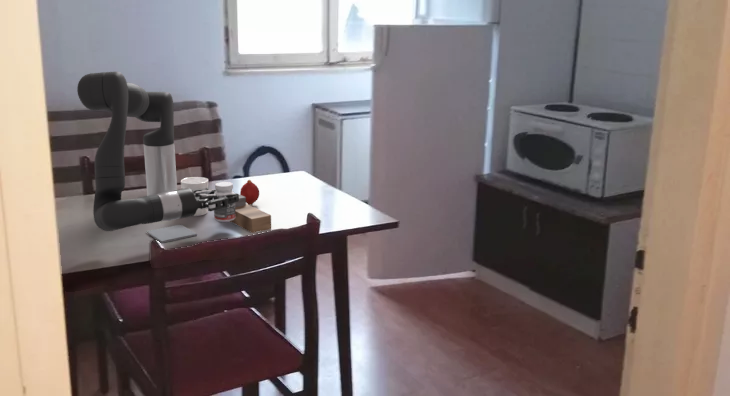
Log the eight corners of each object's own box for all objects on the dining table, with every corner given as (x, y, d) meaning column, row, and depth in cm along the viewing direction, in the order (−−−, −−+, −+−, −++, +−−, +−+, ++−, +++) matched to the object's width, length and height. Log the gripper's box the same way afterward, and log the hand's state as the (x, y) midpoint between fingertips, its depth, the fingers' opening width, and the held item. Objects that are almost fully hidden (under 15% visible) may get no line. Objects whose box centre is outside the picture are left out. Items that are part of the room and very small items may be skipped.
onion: (241, 202, 231) (240, 177, 228) (260, 202, 231) (259, 177, 229) (240, 207, 225) (239, 182, 223) (259, 207, 225) (258, 181, 223)
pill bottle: (230, 223, 200) (229, 187, 197) (211, 221, 201) (209, 186, 198) (238, 216, 205) (237, 182, 202) (219, 214, 206) (218, 180, 204)
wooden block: (218, 215, 217) (217, 194, 215) (236, 211, 221) (235, 191, 219) (252, 233, 202) (251, 210, 200) (271, 228, 206) (270, 206, 204)
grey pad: (146, 232, 201) (146, 231, 201) (180, 226, 207) (180, 224, 207) (161, 242, 194) (161, 241, 194) (196, 235, 200) (196, 233, 200)
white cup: (215, 211, 221) (213, 178, 219) (198, 218, 214) (197, 184, 212) (193, 207, 224) (192, 175, 222) (177, 214, 218) (174, 181, 215)
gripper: (185, 197, 186) (245, 187, 196) (162, 184, 197) (219, 175, 207) (187, 225, 189) (245, 214, 199) (163, 211, 199) (220, 201, 209)
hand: (232, 194), depth 203 cm, fingers closed on pill bottle, 5 cm apart
